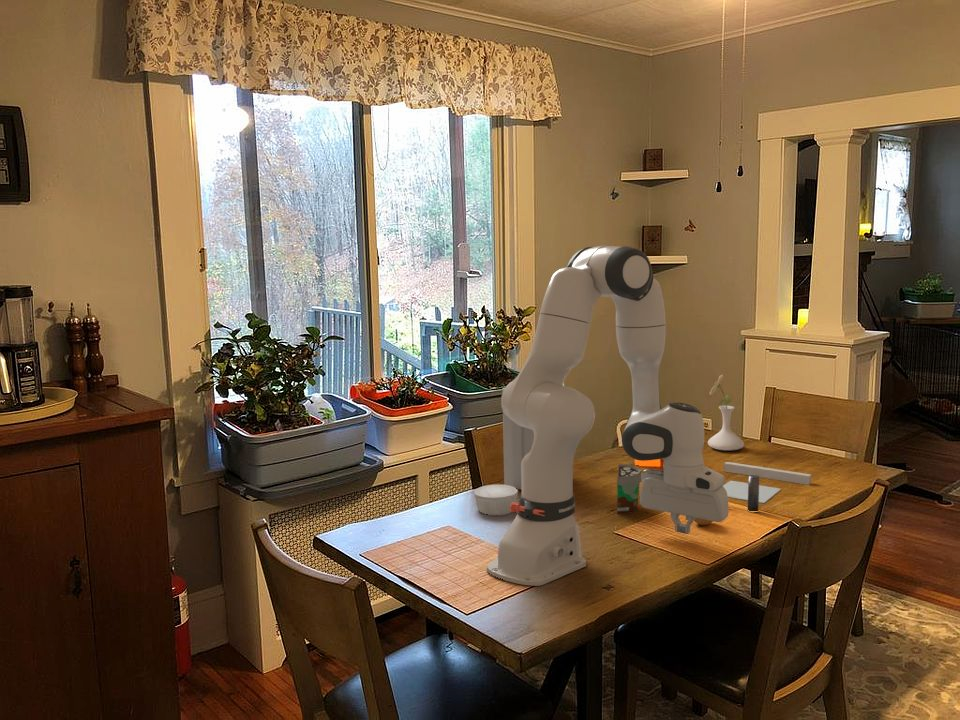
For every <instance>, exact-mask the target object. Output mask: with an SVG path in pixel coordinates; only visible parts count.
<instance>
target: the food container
mask: <svg viewBox="0 0 960 720" xmlns="http://www.w3.org/2000/svg"><path fill="white" fill-rule="evenodd" d="M641 474H642V472H641V469H640V468H638V466H635V465H634V466H633V465H630V464H629V465H628V464H623V463H622V464H621V463H619V464H618V474H617V476H616V477H617V478H616V483H617V484H616V487H617V490H616V492H617V493H616V494H617V495H616V497H617V498H616V501H617V502H616V507H617V509H616V512H617V514H618V515H624V514H631V513H634V512H636V511H638V508H639V507H638V505H639V496H640V495H639V493H640V482H641Z"/></svg>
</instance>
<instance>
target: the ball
mask: <svg viewBox="0 0 960 720" xmlns="http://www.w3.org/2000/svg"><path fill="white" fill-rule="evenodd" d="M693 522H695V523H696V524H698V525H701V526H708V525H711V524H712V523H713V522H714V521H710V520H705V519H700V518H695V519H694V521H693Z"/></svg>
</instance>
